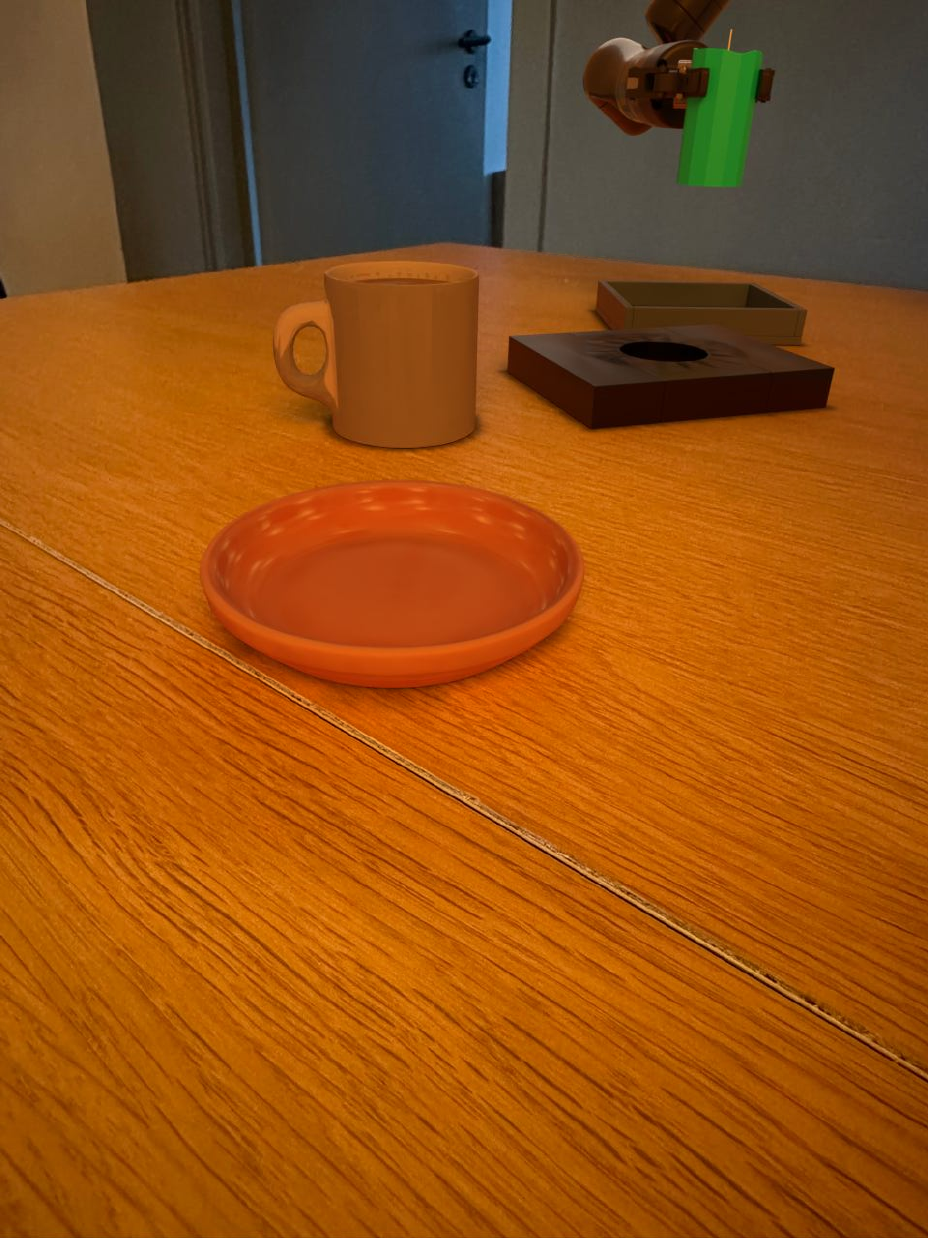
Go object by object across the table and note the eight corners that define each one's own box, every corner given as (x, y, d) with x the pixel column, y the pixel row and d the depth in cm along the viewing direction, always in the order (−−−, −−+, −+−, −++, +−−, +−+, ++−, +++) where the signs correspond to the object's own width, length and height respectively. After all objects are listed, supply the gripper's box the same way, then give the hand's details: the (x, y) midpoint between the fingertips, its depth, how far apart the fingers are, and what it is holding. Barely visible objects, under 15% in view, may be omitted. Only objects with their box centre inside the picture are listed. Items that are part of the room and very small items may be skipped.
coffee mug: (469, 403, 65) (472, 261, 60) (481, 447, 57) (485, 285, 52) (289, 403, 64) (277, 259, 59) (273, 448, 56) (258, 284, 51)
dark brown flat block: (709, 357, 79) (715, 324, 78) (826, 407, 66) (835, 367, 65) (507, 371, 74) (508, 335, 72) (590, 429, 60) (595, 386, 59)
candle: (670, 184, 79) (691, 26, 73) (681, 180, 84) (701, 31, 78) (737, 187, 78) (764, 26, 72) (744, 183, 82) (770, 31, 76)
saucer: (616, 711, 32) (626, 641, 30) (172, 724, 30) (158, 653, 29) (546, 530, 46) (550, 476, 44) (237, 534, 44) (231, 479, 43)
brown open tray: (749, 313, 98) (754, 282, 96) (800, 345, 85) (808, 309, 83) (595, 311, 97) (598, 280, 96) (622, 342, 84) (626, 307, 82)
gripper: (606, 39, 86) (661, 27, 72) (743, 44, 88) (823, 33, 74) (599, 126, 90) (649, 131, 76) (730, 129, 92) (804, 134, 77)
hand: (735, 83), depth 75 cm, fingers closed on candle, 5 cm apart
